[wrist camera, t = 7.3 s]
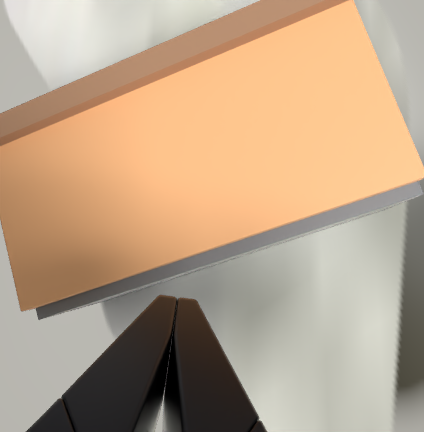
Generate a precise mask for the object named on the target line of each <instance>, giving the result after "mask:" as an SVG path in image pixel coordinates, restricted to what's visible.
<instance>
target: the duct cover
mask: <svg viewBox="0 0 424 432" xmlns="http://www.w3.org/2000/svg"><path fill="white" fill-rule="evenodd" d="M423 178H424V167H423V164H422V162H421V160H420V157H419V155H418V153H417V151H416V148H415V145H414V143H413V141H412V138H411V136H410V134H409V131H408V129H407V126H406V124H405V122H404V119H403V117H402V115H401V112H400V110H399V108H398V105H397V103H396V100H395V98H394V96H393V93H392V91H391V89H390V86H389V84H388V82H387V79H386V77H385V74H384V72H383V70H382V67H381V65H380V63H379V60H378V58H377V55H376V53H375V51H374V48H373V46H372V44H371V41H370V39H369V37H368V34H367V32H366V29H365V27H364V25H363V22H362V20H361V18H360V15H359V13H358V11H357V8H356V6H355V3H354V1H353V0H260V1H258V2H256V3H253V4H251V5H249V6H246V7H244V8H242V9H240V10H237V11H235V12H233V13H230V14H228V15H226V16H223V17H221V18H219V19H217V20H214V21H212V22H210V23H207V24H205V25H203V26H200V27H198V28H196V29H194V30H191V31H189V32H187V33H184V34H182V35H180V36H177V37H175V38H173V39H171V40H168V41H166V42H164V43H161V44H159V45H157V46H154V47H152V48H150V49H148V50H145V51H143V52H141V53H138V54H136V55H134V56H131V57H129V58H127V59H125V60H122V61H120V62H118V63H115V64H113V65H111V66H108V67H106V68H104V69H102V70H99V71H97V72H95V73H92V74H90V75H88V76H85V77H83V78H81V79H79V80H76V81H74V82H72V83H69V84H67V85H65V86H62V87H60V88H58V89H56V90H53V91H51V92H49V93H46V94H44V95H42V96H39V97H37V98H35V99H33V100H30V101H28V102H26V103H23V104H21V105H19V106H16V107H14V108H12V109H10V110H7V111H5V112H3V113H1V114H0V220H1V225H2V229H3V234H4V238H5V242H6V246H7V251H8V256H9V260H10V265H11V269H12V273H13V278H14V282H15V287H16V291H17V296H18V300H19V304H20V309H21V311H26V310H30V309H35V308H38V307H41V306H44V305H47V304H50V303H53V302H56V301H59V300H62V299H65V298H68V297H71V296H74V295H77V294H80V293H83V292H86V291H89V290H92V289H95V288H98V287H101V286H104V285H107V284H110V283H113V282H116V281H119V280H122V279H125V278H128V277H131V276H134V275H137V274H140V273H143V272H146V271H149V270H152V269H155V268H158V267H161V266H164V265H167V264H170V263H173V262H176V261H179V260H182V259H185V258H188V257H191V256H194V255H197V254H200V253H203V252H206V251H209V250H212V249H215V248H218V247H221V246H224V245H227V244H230V243H233V242H236V241H239V240H242V239H245V238H248V237H251V236H254V235H257V234H260V233H263V232H266V231H269V230H272V229H275V228H278V227H281V226H284V225H287V224H290V223H293V222H296V221H299V220H302V219H305V218H308V217H311V216H314V215H317V214H320V213H323V212H326V211H330V210H333V209H336V208H339V207H342V206H345V205H348V204H351V203H354V202H357V201H360V200H363V199H366V198H369V197H372V196H375V195H378V194H381V193H384V192H387V191H390V190H393V189H396V188H399V187H402V186H405V185H408V184H411V183H414V182H417V181H420V180H421V179H423Z"/></svg>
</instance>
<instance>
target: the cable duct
mask: <svg viewBox="0 0 424 432" xmlns="http://www.w3.org/2000/svg"><path fill="white" fill-rule="evenodd" d="M422 194H423V191H422V189H421V187H420V184H419V181H417V182H414V183H411V184H408V185H405V186H402V187H399V188H396V189H393V190H390V191H387V192H384V193H381V194H378V195H375V196H372V197H369V198H366V199H363V200H360V201H357V202H354V203H351V204H348V205H345V206H342V207H339V208H336V209H333V210H330V211H326V212H323V213H320V214H317V215H314V216H311V217H308V218H305V219H302V220H299V221H296V222H293V223H290V224H287V225H284V226H281V227H278V228H275V229H272V230H269V231H266V232H263V233H260V234H257V235H254V236H251V237H248V238H245V239H242V240H239V241H236V242H233V243H230V244H227V245H224V246H221V247H218V248H215V249H212V250H209V251H206V252H203V253H200V254H197V255H194V256H191V257H188V258H185V259H182V260H179V261H176V262H173V263H170V264H167V265H164V266H161V267H158V268H155V269H152V270H149V271H146V272H143V273H140V274H137V275H134V276H131V277H128V278H125V279H122V280H119V281H116V282H113V283H110V284H107V285H104V286H101V287H98V288H95V289H92V290H89V291H86V292H83V293H80V294H77V295H74V296H71V297H68V298H65V299H62V300H59V301H56V302H53V303H50V304H47V305H44V306H41V307H38V308H36V311H37V315H38V319H39V320H40V319H43V318H47V317H50V316H54V315H57V314H61V313H64V312H68V311H72V310H75V309H79V308H82V307H86V306H89V305H93V304H96V303H99V302H102V301H106V300H109V299H112V298H115V297H118V296H121V295H124V294H127V293H130V292H133V291H136V290H139V289H142V288H145V287H149V286H152V285H155V284H158V283H161V282H164V281H167V280H170V279H173V278H176V277H179V276H182V275H185V274H189V273H192V272H195V271H198V270H201V269H204V268H207V267H210V266H213V265H216V264H219V263H222V262H225V261H228V260H232V259H235V258H238V257H241V256H244V255H247V254H250V253H253V252H256V251H259V250H262V249H265V248H268V247H271V246H275V245H278V244H281V243H284V242H287V241H290V240H293V239H296V238H299V237H302V236H305V235H308V234H311V233H315V232H318V231H321V230H324V229H327V228H330V227H333V226H336V225H339V224H342V223H345V222H348V221H351V220H354V219H358V218H361V217H364V216H367V215H370V214H373V213H376V212H379V211H382V210H385V209H388V208H391V207H393V206H396V205H398V204H400V203H403V202H405V201H408V200H410V199H413V198H415V197H418V196H420V195H422Z"/></svg>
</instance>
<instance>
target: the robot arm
mask: <svg viewBox="0 0 424 432" xmlns="http://www.w3.org/2000/svg"><path fill="white" fill-rule="evenodd" d="M176 306H177V307H176ZM175 313H176V314H175ZM174 320H175V321H174ZM173 327H174V328H173ZM172 334H173V335H172ZM171 341H172V343H171ZM170 348H171V350H170ZM169 355H170V357H169ZM168 362H169V364H168ZM167 369H168V371H167ZM166 376H167V378H166ZM165 383H166V385H165ZM164 390H165V393H164ZM163 396H164V403H163V432H267V431H266V429H265V427H264V425H263V423H262V421H260V420H259V416H258V414H257V412H256V410H255V408H254V407H253V405H252V403H251V401H250V399H249V397H248V395H247V394H246V392H245V390H244V388H243V386H242V384H241V382H240V380H239V379H238V377H237V375H236V373H235V371H234V369H233V367H232V365H231V364H230V362H229V360H228V358H227V356H226V354H225V352H224V351H223V349H222V347H221V345H220V343H219V341H218V339H217V337H216V336H215V334H214V332H213V330H212V328H211V326H210V324H209V322H208V321H207V319H206V317H205V315H204V313H203V311H202V309H201V308H200V306H199V304H198V302H197V301H196V300H195V299H188V298H179V299H178V301H177V298H176V297H172V296H165V295H159V296H158V297H157V298H156V299H155V300H154V301H153V302H152V303H151V304H150V305H149V306H148V307H147V308H146V309H145V310H144V311H143V312H142V313H141V314H140V315H139V316H138V317H137V318H136V319H135V320H134V321H133V323H132V324H131V325H130V326H129V327H128V328H127V329H126V330H125V331H124V332H123V333H122V334H121V335H120V336H119V337H118V338H117V339H116V340H115V341H114V342H113V343H112V344H111V345H110V346H109V347H108V348H107V349H106V350H105V352H104V353H103V354H102V355H101V356H100V357H99V358H98V359H97V360H96V361H95V362H94V363H93V364H92V365H91V366H90V367H89V368H88V369H87V370H86V371H85V372H84V373H83V375H81V376H80V377H79V378H78V379H77V380H76V382H75V383H74V384H73V385H72V386H71V387H70V388H69V389H68V390H67V391H66V392H65V393H64V394H63V395H62V397H61V398H62V399H58V400H57V401H56V402H55V403H54V404H53V405H52V406H51V407H50V408H49V409H48V410H47V411H46V412H45V413H44V414H43V415H42V416H41V417H40V418H39V419H38V420H37V421H36V422H35V423H34V424H33V425H32V426H31V427H30V428H29V429H28V430H27V431H26V432H155V429H156V425H157V421H158V418H159V414H160V410H161V406H162V401H163Z"/></svg>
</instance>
